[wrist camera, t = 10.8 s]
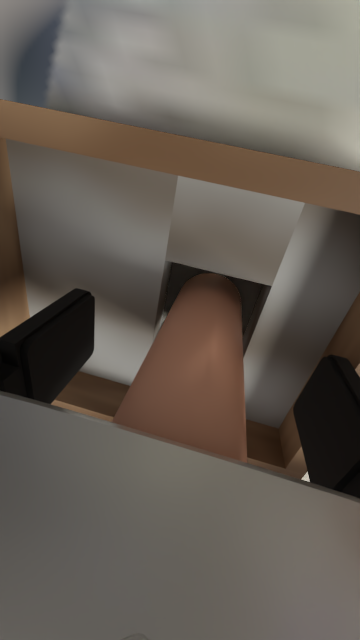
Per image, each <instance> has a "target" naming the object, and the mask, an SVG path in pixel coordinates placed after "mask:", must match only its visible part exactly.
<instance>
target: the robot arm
mask: <svg viewBox="0 0 360 640" xmlns="http://www.w3.org/2000/svg"><path fill="white" fill-rule="evenodd" d="M94 330H95V297H94V296H92V295H91V292H90V291H86V290H82V289H78V288H75V289H73V290H72V291H70V292H69V293H67V294H66V295H64V296H62V297H61V298H59V299H58V300H56V301H55V302H53V303H52V304H50V305H49V306H47V307H46V308H44V309H42V310H41V311H39V312H38V313H36V314H35V315H33V316H32V317H30V318H29V319H27V320H26V321H24V322H23V323H21V324H19V325H18V326H16V327H15V328H13V329H12V330H10V331H9V332H7V333H6V334H4V335H3V336H1V337H0V640H360V377H359V375H358V374H357V372H356V370H355V369H354V367H353V366H352V364H351V363H350V361H349V360H348V359H347V358H344V357H340V356H336V355H332V354H330V355H328V356H327V357H323V358H322V359H321V360H320V362H319V364H318V365H317V367H316V369H315V370H314V372H313V374H312V375H311V377H310V379H309V380H308V382H307V384H306V385H305V387H304V389H303V390H302V392H301V394H300V395H299V397H298V399H297V400H296V402H295V404H294V407H293V414H294V418H295V422H296V426H297V430H298V434H299V438H300V442H301V446H302V450H303V454H304V458H305V462H306V466H307V471H308V475H309V479H310V482H307V481H304V480H301V479H298V478H294V477H291V476H288V475H285V474H281V473H278V472H275V471H272V470H268V469H265V468H262V467H259V466H255V465H252V464H249V463H246V462H242V461H239V460H236V459H233V458H229V457H226V456H223V455H219V454H216V453H213V452H209V451H206V450H203V449H199V448H196V447H193V446H190V445H186V444H183V443H180V442H176V441H173V440H170V439H166V438H163V437H160V436H156V435H153V434H150V433H146V432H143V431H140V430H136V429H133V428H130V427H126V426H123V425H119V424H116V423H113V422H109V421H106V420H103V419H99V418H96V417H92V416H89V415H86V414H82V413H79V412H75V411H72V410H69V409H65V408H62V407H58V406H55V405H51V403H52V402H53V401H54V400H55V399H56V397H57V396H58V395H59V394H60V393H61V391H62V390H63V389H64V388H65V387H66V385H67V384H68V383H69V382H70V381H71V380H72V378H73V377H74V376H75V375H76V374H77V372H78V371H79V370H80V369H81V368H82V366H83V365H84V364H85V363H86V362H87V360H88V359H89V358H90V357H91V356H92V354H93V351H94Z"/></svg>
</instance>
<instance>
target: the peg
mask: <svg viewBox="0 0 360 640" xmlns="http://www.w3.org/2000/svg"><path fill="white" fill-rule="evenodd" d="M112 422H113V423H116V424H119V425H123V426H126V427H130V428H133V429H136V430H140V431H143V432H146V433H150V434H153V435H156V436H160V437H163V438H166V439H170V440H173V441H176V442H180V443H183V444H186V445H190V446H193V447H196V448H199V449H203V450H206V451H209V452H213V453H216V454H219V455H223V456H226V457H229V458H233V459H236V460H239V461H242V462H246V463H247V440H246V414H245V389H244V363H243V337H242V312H241V297H240V294H239V291H238V289H237V288H236V286H235V285H234V284H233V283H232V282H231V281H230V280H229V279H227V278H226V277H224V276H221V275H218V274H214V273H203V274H199V275H196V276H194V277H192V278H191V279H189V280H188V281H187V282H186V283H185V284H184V285H183V287H182V288H181V290H180V292H179V294H178V296H177V298H176V300H175V302H174V304H173V305H172V307H171V309H170V311H169V313H168V315H167V317H166V319H165V321H164V323H163V325H162V327H161V328H160V330H159V332H158V334H157V336H156V338H155V340H154V342H153V344H152V346H151V348H150V349H149V351H148V353H147V355H146V357H145V359H144V361H143V363H142V365H141V367H140V369H139V371H138V372H137V374H136V376H135V378H134V380H133V382H132V384H131V386H130V388H129V390H128V392H127V393H126V395H125V397H124V399H123V401H122V403H121V405H120V407H119V409H118V411H117V413H116V415H115V416H114V418H113V420H112Z"/></svg>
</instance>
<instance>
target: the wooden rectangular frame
mask: <svg viewBox="0 0 360 640" xmlns="http://www.w3.org/2000/svg"><path fill="white" fill-rule="evenodd" d="M172 262H175V263H179V264H183V265H187V266H191V267H195V268H199V269H203V270H207V271H212V272H216V273H220V274H224V275H228V276H232V277H236V278H240V279H244V280H249V281H253V282H257V283H261V284H263V285H262V288H261V291H260V293H259V296H258V299H257V301H256V304H255V307H254V309H253V312H252V315H251V317H250V320H249V323H248V325H247V328H246V331H245V333H244V336H243V363H244V389H245V414H246V440H247V463H249V464H252V465H255V466H259V467H262V468H265V469H268V470H272V471H275V472H278V473H281V474H285V475H288V476H291V477H294V478H298V479H302V477H303V476H304V475H305V474H306V472H307V466H306V462H305V458H304V454H303V450H302V446H301V442H300V438H299V434H298V430H297V426H296V422H295V418H294V414H293V407H294V404H295V402H296V400H297V399H298V397H299V395H300V394H301V392H302V390H303V389H304V387H305V385H306V384H307V382H308V380H309V379H310V377H311V375H312V374H313V372H314V370H315V369H316V367H317V365H318V364H319V362H320V360H321V359H322V358H323V357H327V356H328V355H330V354H332V355H336V356H340V357H344V358H347V359H348V360H349V361H350V363H351V364H352V366H353V367H354V369H355V370H356V372H357V374H358V375H359V377H360V172H359V171H354V170H349V169H344V168H339V167H334V166H329V165H324V164H319V163H314V162H309V161H304V160H299V159H294V158H289V157H284V156H280V155H275V154H270V153H265V152H260V151H255V150H250V149H245V148H240V147H235V146H230V145H225V144H220V143H215V142H210V141H205V140H200V139H195V138H190V137H185V136H180V135H175V134H170V133H165V132H161V131H156V130H151V129H146V128H141V127H136V126H131V125H126V124H121V123H116V122H111V121H106V120H101V119H96V118H91V117H86V116H81V115H76V114H71V113H66V112H61V111H56V110H51V109H47V108H42V107H36V106H32V105H27V104H22V103H16V102H12V101H7V100H2V99H0V337H1V336H3V335H4V334H6V333H7V332H9V331H10V330H12V329H13V328H15V327H16V326H18V325H19V324H21V323H23V322H24V321H26V320H27V319H29V318H30V317H32V316H33V315H35V314H36V313H38V312H39V311H41V310H42V309H44V308H46V307H47V306H49V305H50V304H52V303H53V302H55V301H56V300H58V299H59V298H61V297H62V296H64V295H66V294H67V293H69V292H70V291H72V290H73V289H75V288H78V289H82V290H86V291H90V292H91V295H92V296H94V297H95V330H94V351H93V354H92V356H91V357H90V358H89V359H88V360H87V362H86V363H85V364H84V365H83V366H82V368H81V369H80V370H79V371H78V372H77V374H76V375H75V376H74V377H73V378H72V380H71V381H70V382H69V383H68V384H67V385H66V387H65V388H64V389H63V390H62V391H61V393H60V394H59V395H58V396H57V397H56V399H55V400H54V401H53V402H52V403H51V405H55V406H58V407H62V408H65V409H69V410H72V411H75V412H79V413H82V414H86V415H89V416H92V417H96V418H99V419H103V420H106V421H109V422H112V420H113V418H114V416H115V415H116V413H117V411H118V409H119V407H120V405H121V403H122V401H123V399H124V397H125V395H126V393H127V392H128V390H129V388H130V386H131V384H132V382H133V380H134V378H135V376H136V374H137V372H138V371H139V369H140V367H141V365H142V363H143V361H144V359H145V357H146V355H147V353H148V351H149V349H150V348H151V346H152V344H153V342H154V340H155V338H156V336H157V334H158V332H159V330H160V328H161V324H162V318H163V312H164V306H165V301H166V295H167V289H168V283H169V277H170V271H171V266H172Z"/></svg>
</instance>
